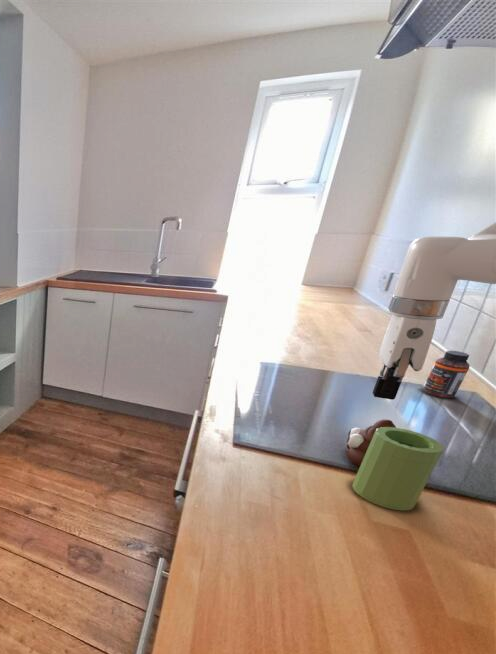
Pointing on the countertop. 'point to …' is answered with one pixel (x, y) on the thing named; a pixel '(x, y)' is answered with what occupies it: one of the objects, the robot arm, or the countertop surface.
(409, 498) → the green pipe section
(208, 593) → the countertop surface
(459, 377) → the supplement bottle
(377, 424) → the poop emoji
